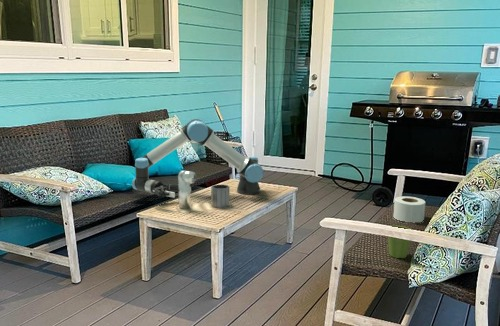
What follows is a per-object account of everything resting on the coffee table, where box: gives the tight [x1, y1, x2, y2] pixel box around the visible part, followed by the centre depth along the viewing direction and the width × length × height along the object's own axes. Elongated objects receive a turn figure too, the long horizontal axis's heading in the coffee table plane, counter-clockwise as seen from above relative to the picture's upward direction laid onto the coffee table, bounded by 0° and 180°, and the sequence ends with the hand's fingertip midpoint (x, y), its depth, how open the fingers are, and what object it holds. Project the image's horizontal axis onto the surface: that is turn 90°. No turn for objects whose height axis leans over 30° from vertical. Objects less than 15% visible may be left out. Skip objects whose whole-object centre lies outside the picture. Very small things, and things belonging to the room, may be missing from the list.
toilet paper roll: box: [392, 195, 427, 223], centre depth 233 cm, size 16×15×11 cm
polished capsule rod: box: [177, 170, 197, 209], centre depth 241 cm, size 9×6×21 cm
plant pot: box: [387, 225, 413, 259], centre depth 185 cm, size 12×12×11 cm
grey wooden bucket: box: [210, 184, 230, 209], centre depth 248 cm, size 10×10×11 cm
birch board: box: [173, 202, 232, 214], centre depth 246 cm, size 30×13×2 cm, turn 113°
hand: (182, 192), depth 242 cm, fingers open, 13 cm apart
